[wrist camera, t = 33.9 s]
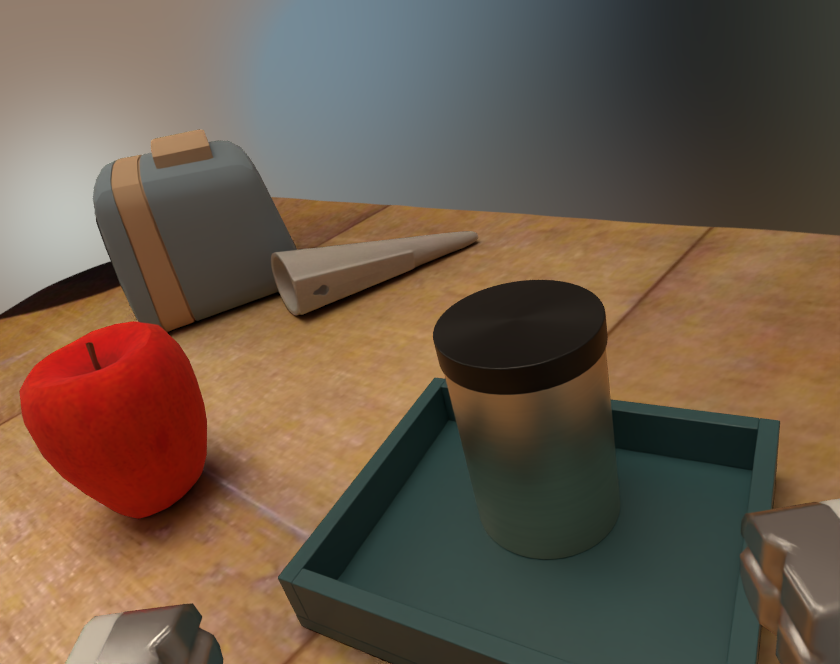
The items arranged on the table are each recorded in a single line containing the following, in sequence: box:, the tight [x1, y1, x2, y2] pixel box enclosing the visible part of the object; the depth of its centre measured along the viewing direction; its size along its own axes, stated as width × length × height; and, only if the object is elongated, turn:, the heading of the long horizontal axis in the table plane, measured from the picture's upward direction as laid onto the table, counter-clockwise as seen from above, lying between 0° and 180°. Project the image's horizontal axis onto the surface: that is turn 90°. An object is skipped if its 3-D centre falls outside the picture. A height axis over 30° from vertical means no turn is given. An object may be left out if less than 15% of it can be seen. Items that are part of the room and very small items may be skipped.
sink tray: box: [278, 378, 780, 664], centre depth 28 cm, size 18×15×3 cm
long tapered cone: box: [271, 231, 478, 315], centre depth 59 cm, size 6×6×19 cm
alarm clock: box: [93, 129, 297, 332], centre depth 62 cm, size 16×16×16 cm
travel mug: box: [433, 280, 620, 559], centre depth 27 cm, size 7×7×10 cm
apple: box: [20, 321, 207, 519], centre depth 36 cm, size 9×9×11 cm
